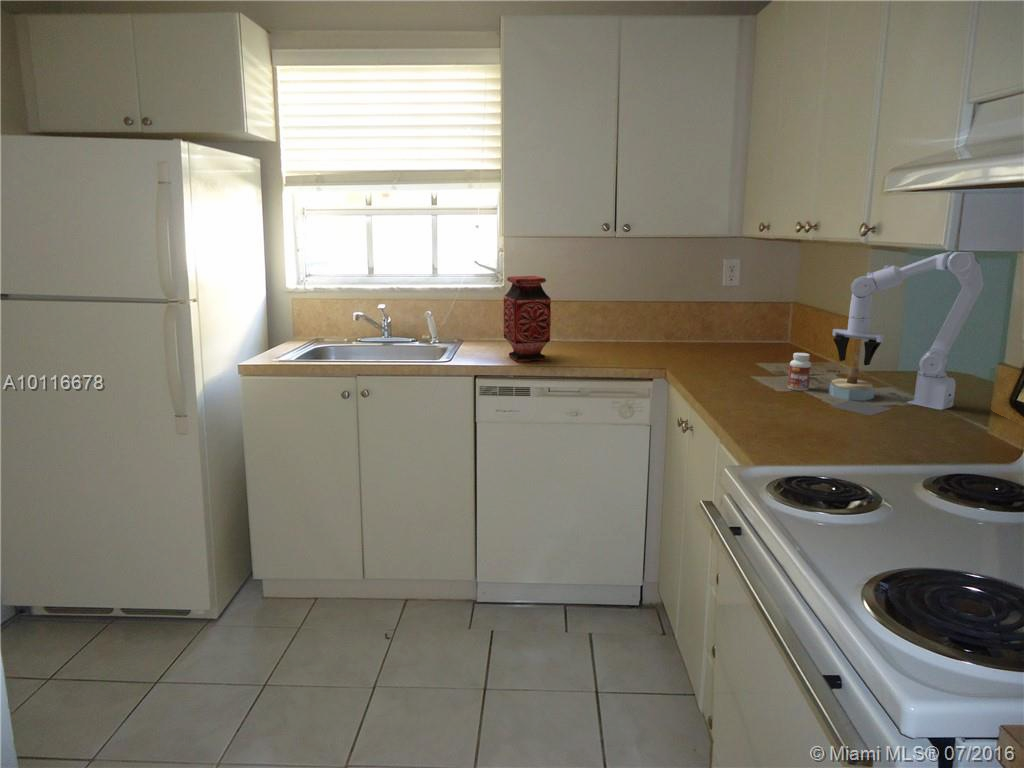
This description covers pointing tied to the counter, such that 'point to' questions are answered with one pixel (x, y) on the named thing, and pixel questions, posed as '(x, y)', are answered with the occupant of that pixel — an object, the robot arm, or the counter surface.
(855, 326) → the robot arm
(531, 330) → the vase
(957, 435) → the counter surface
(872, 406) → the mat
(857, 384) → the lid
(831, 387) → the bowl
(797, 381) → the pill bottle
